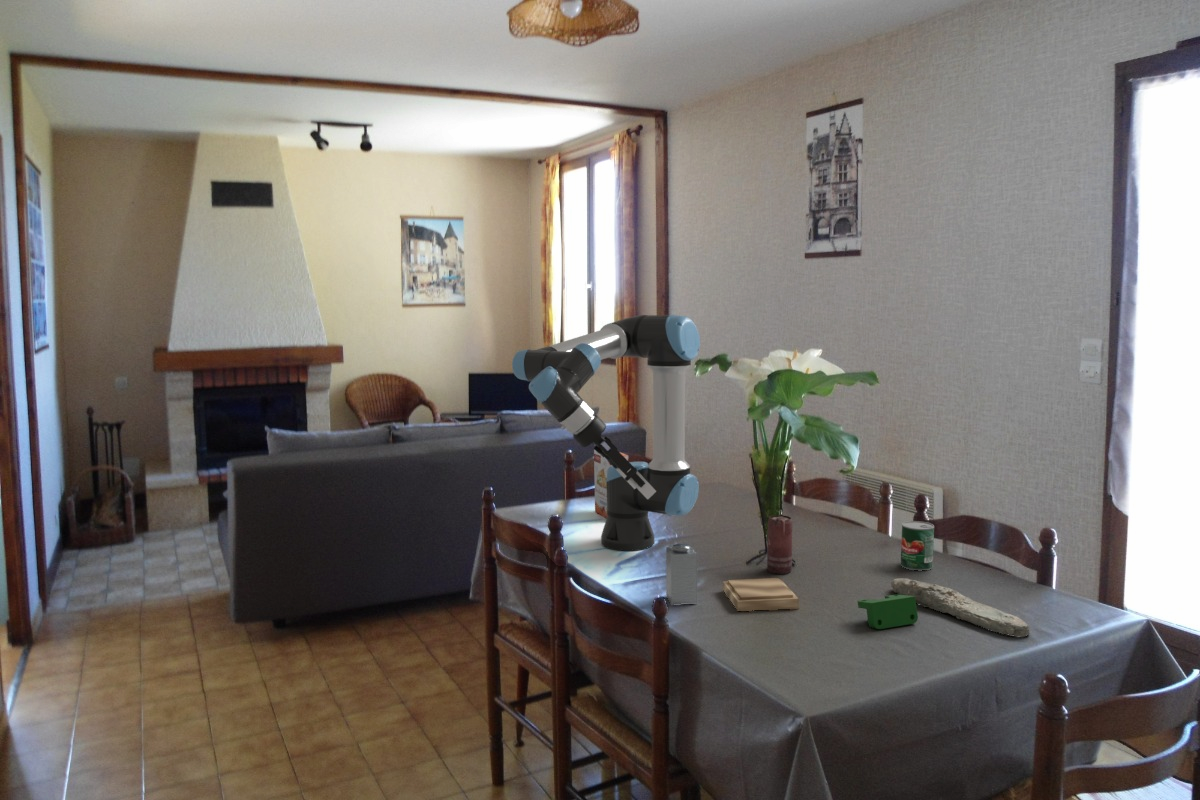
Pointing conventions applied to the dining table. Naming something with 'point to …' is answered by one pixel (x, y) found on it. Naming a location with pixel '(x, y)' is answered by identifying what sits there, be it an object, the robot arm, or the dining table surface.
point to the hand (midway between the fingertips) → (644, 490)
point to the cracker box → (601, 482)
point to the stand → (760, 594)
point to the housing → (681, 574)
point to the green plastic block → (890, 611)
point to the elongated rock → (960, 606)
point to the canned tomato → (917, 545)
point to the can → (779, 544)
